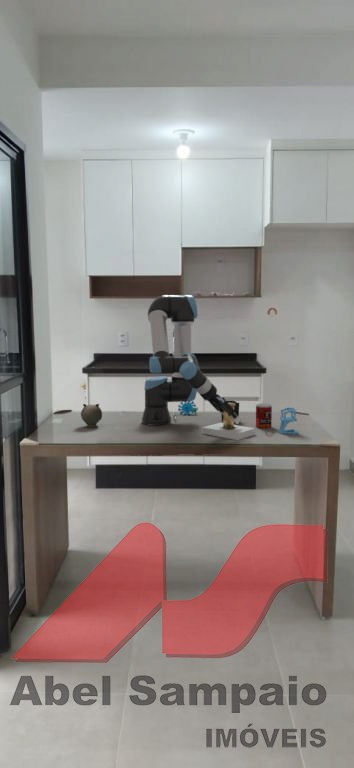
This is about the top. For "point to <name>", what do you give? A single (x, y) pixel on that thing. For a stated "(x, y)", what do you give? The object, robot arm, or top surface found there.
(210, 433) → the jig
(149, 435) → the top surface
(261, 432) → the top surface
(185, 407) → the gear
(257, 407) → the canned food
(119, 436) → the top surface
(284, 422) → the chair
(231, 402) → the pen holder
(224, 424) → the brass ball knob
